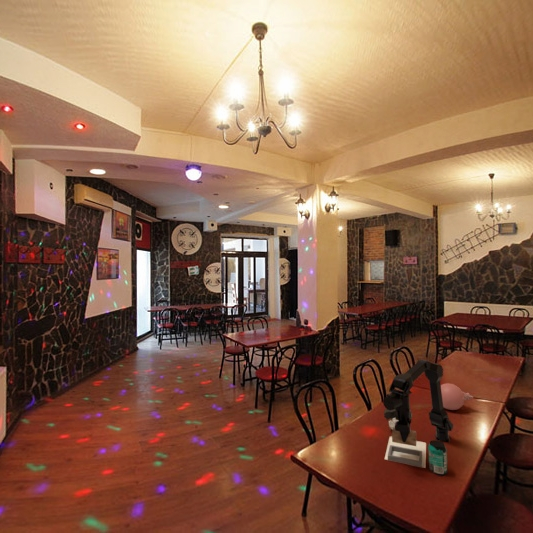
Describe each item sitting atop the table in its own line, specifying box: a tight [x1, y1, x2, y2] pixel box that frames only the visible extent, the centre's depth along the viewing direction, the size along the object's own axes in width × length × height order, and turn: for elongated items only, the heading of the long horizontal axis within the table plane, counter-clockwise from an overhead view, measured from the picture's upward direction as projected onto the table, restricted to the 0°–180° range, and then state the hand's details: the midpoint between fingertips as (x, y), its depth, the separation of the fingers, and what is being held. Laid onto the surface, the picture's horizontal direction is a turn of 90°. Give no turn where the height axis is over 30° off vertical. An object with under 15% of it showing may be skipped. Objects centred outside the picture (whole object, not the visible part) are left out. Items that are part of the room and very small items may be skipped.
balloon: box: [441, 382, 474, 411], centre depth 202 cm, size 15×20×15 cm
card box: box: [391, 427, 418, 446], centre depth 151 cm, size 10×6×4 cm, turn 64°
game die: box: [387, 418, 399, 431], centre depth 176 cm, size 9×8×10 cm
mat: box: [384, 435, 427, 469], centre depth 157 cm, size 23×17×3 cm
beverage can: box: [427, 439, 449, 477], centre depth 141 cm, size 7×7×12 cm
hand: (404, 438), depth 151 cm, fingers closed on card box, 6 cm apart
